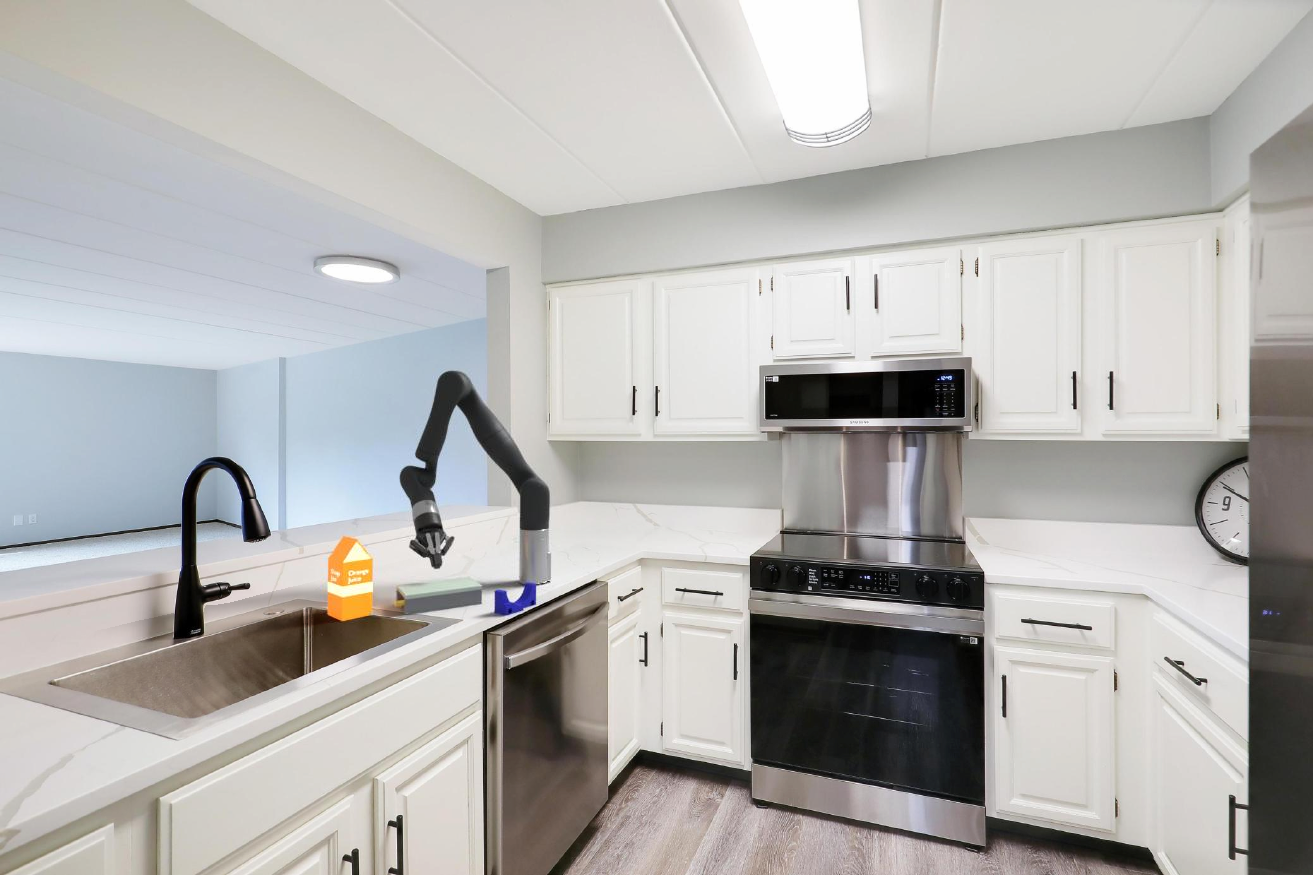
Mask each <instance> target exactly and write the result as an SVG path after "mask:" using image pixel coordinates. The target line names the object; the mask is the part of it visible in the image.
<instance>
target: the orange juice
mask: <svg viewBox="0 0 1313 875" xmlns="http://www.w3.org/2000/svg"><path fill="white" fill-rule="evenodd" d="M373 560H374V558H373V557H371V555H370V554H369V552H368V551H367V549H366V548H365V547H364V546H363V544H362V543H361V542H360V540H359V538H355V537H354V538H353V537H350V536H345V535H343V536H342V537H341V539H340V540H339V542H338V543H337V545H336V546H335V547H334V549H333V551H332V552H331V554H330V556H329V557H328V558H327V615H328V616H330V617H332V618H334V619H337V620H339V621H341V622H345V621H348V620H354V619H358V618H362V617H366V616H370V615H369V613H372V614H373V592H374V588H373V587H374V586H373V585H374V583H373V575H374V574H373V567H374V566H373V565H374V561H373Z"/></svg>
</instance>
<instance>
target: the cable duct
mask: <svg viewBox="0 0 1313 875" xmlns="http://www.w3.org/2000/svg"><path fill="white" fill-rule="evenodd" d="M395 597H396V598H395V600H396V601H395V602H394V604H393V605H394V606H395V607H396V608H398V609H400V611H401V612H402V613H403V612H404V613H413V614H420V613H426V612H434V611H440V610H446V609H454V608H460V607H466V606H473V605H481V604H482V603H483V588H482V589H480V590H473V591H465V592H458V593H450V594H443V595H435V596H428V597H420V598H413V599H405V598H404V597H403V596H402V595H401V594H400V592H399V591H398V590H397V589H396V596H395ZM404 613H403V614H404Z"/></svg>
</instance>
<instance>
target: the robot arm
mask: <svg viewBox="0 0 1313 875" xmlns="http://www.w3.org/2000/svg"><path fill="white" fill-rule="evenodd" d="M434 392H435V393H434V397H433V402H432V406H431V409H430V413H429V415H428V418H427V419H428V420H427V422H426V424H425V427H424V430H423V431H422V434H421V437H420V440H419V442H418V444H417V447H416V450H415V453H414V455H415V458H416V459H418V460H419V461H421V462H423V463H424V465H425V467H420V466H415V465H406V466H404V467H403V468H402V469H401V470H400V472H399V483H400V486H401V488H402V490H403V492H404V493H405V495H406V497H407V498H408V500H409V501H410V507H411V513H412V521H413V526H414V530H415V534H416V535H415V538H414V539H411V540H410V542H409V544H408V547H409V549H411V550H412V551H413V552H415V553H416V554H417V555H418V556H420V557H421V558H423V559H427V558H428V559H429V561H430V566H431V568H433V570H437V569H438V570H440V568H441V567H443V566H442V565H443V558H442V557H445V556H446V555H447V553H448V551H449V550H450V549H451V547H452V545H453V544H454V541H455V536H453V535H451V536H449V535H447V532H446V531H445V530H444V527H443V526H444V525H443V522H442V519H441V514H440V510H439V508H438V506H437V501H436V498H435V493H434V492H433V490H432V488H433V487H434V486H435V484H436V480H437V471H438V470H437V469H438V462H439V457H440V455H441V453H442V451H443V447H444V445H445V442H446V439H447V435H448V434H447V433H448V431H449V430H448V429H449V424H450V421H451V419H452V415H453V413H454V410H455V408H456V407H458V409H459V410H460V411H461V412H462V414H463V415H464V417H465V418H466V420H467V422H468V424H469V426H470V429H471V431H472V433H473V435H474V437H475V439H476V440H477V442H478V443H479V445H480V446H481V448H482V449H483V450H484V451H485V453H486V454H487V455H488V456H489V458H490V459H491V460H492V461H493V462H494V463H495V465H496V466H498V467H499V468H500V469H501V470H502V471H503V472H504V474H506V476H508V478H509V480H511V481H510V482H512V484H513V485H514V487H515V489H516V491H517V493H518V494H519V557H518V558H519V560H518V561H519V563H518V566H519V573H518V574H519V576H518V578H519V580H518V581H519V584H520V583H522V584H521V585H524V584H525V583H527V582H531V583H536V584H538V583H543V582H545V581H548V580H551V581H552V552H551V551H550V549H549V548H550V546H549V544H550V542H549V541H550V539H549V538H550V535H549V534H550V530H549V529H550V515H551V513H550V509H551V508H550V507H551V506H550V505H551V503H550V502H551V496H550V495H551V494H550V489H549V486H548V484H547V483H546V482H545V481H544V480H543V479H541V477H540V476H539V475H538V474H537V473H536V472H535V471H534V470H533V469H532V468H531V467H530V465H529V464H528V463H527V461H526V460H525V458H524V456H523V454H522V452H521V451H520V448H519V447H518V445H517V444H516V441H515V440H514V439H513V437H512V436H511V434H510V433H509V431H508V430H507V429H506V428H505V426H504V425H503V423H501V421H500V420H499V418H498V417H496V415H495V413H493V411H492V410H491V409H490V408H489V407H488V406H487V405H486V404H485V402H484V401H483V399H482V398H481V396H480V394H479V393H478V391H477V389H476V387H475V386H474V384H473V383H472V381H471V379H470V377H469V376H468V375H467V374H466V373H465V372H462V371H459V370H448V371H445V372H443V373H442V374H441V375H440V376H439V377H438V378H437V381H436V387H435V391H434ZM443 543H444V544H445V545H444V546H443V547H442V548H441V546H442V545H443Z"/></svg>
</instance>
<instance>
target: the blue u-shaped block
mask: <svg viewBox="0 0 1313 875" xmlns="http://www.w3.org/2000/svg"><path fill="white" fill-rule="evenodd" d="M523 585H524V584H523ZM536 605H537V585H536V583H531V582H527V583H525V585H524V587H523V590H522V593H521V595H520V597H519V598H517V600H515V601H513V602H512V601H510V600H509V597H508V591H507V590H503V589H495V590H494V614H497V615H500V616H501V615H502V616H504V617H505V616H511V615H513V614H516V613H520V612H523V611H524V609H526V608H529V607H532V606H536Z"/></svg>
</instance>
